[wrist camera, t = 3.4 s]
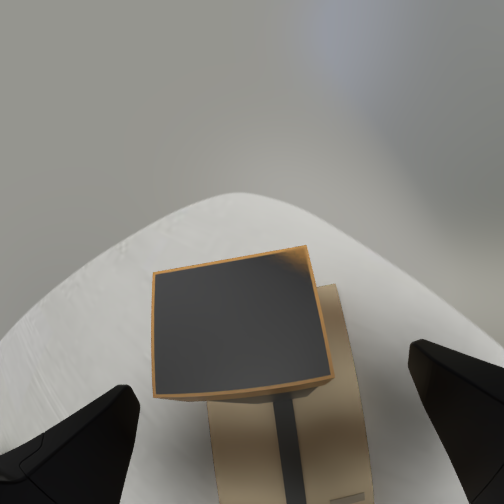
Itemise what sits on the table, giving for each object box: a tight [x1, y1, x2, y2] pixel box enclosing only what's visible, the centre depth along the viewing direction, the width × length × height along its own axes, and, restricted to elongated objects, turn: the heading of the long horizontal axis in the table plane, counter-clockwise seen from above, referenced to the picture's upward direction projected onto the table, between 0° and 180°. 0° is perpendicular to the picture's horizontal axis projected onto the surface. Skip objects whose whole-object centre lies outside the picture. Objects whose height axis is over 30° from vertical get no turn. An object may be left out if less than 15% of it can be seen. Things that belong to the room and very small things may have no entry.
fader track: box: [207, 284, 374, 504], centre depth 13 cm, size 18×8×2 cm, turn 6°
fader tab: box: [151, 245, 335, 404], centre depth 9 cm, size 2×3×11 cm
